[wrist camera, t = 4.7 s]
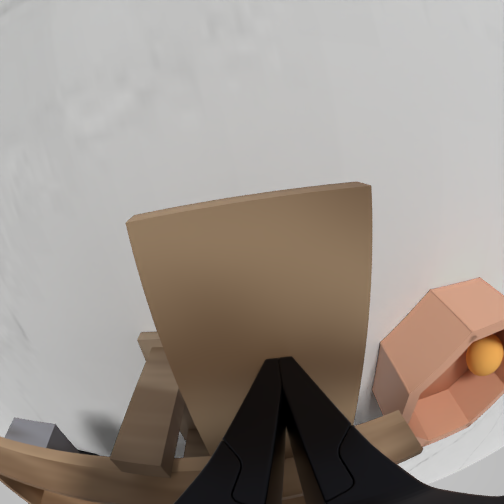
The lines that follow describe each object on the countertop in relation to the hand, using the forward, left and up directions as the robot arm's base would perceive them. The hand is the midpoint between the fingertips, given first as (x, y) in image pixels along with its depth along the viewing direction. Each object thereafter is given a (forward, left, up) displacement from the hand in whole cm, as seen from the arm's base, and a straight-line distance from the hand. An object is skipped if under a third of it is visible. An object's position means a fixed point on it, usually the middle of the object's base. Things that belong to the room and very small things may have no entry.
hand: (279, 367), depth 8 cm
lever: (-4, +6, -2) cm, 8 cm away
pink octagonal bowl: (-9, -13, -8) cm, 17 cm away
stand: (-9, +6, -8) cm, 13 cm away
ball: (-9, -16, -5) cm, 19 cm away
